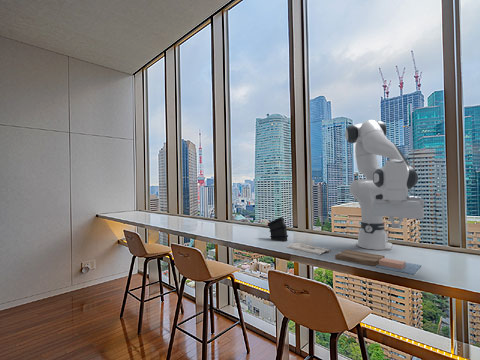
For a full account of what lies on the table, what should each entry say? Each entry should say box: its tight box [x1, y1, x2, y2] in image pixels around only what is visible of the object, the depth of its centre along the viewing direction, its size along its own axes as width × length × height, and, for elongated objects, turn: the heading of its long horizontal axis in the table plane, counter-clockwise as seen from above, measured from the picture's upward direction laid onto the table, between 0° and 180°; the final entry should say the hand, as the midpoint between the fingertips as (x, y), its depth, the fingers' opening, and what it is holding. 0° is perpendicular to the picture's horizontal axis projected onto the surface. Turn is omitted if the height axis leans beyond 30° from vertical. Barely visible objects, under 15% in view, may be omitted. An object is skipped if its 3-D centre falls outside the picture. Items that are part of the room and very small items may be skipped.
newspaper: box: [286, 242, 332, 256], centre depth 150 cm, size 23×12×2 cm, turn 41°
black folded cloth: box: [267, 216, 289, 242], centre depth 175 cm, size 4×13×15 cm, turn 53°
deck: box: [334, 249, 386, 267], centre depth 129 cm, size 14×18×2 cm
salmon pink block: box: [378, 257, 407, 269], centre depth 118 cm, size 9×6×2 cm, turn 45°
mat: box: [375, 262, 422, 276], centre depth 117 cm, size 16×14×1 cm
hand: (396, 227), depth 117 cm, fingers closed
